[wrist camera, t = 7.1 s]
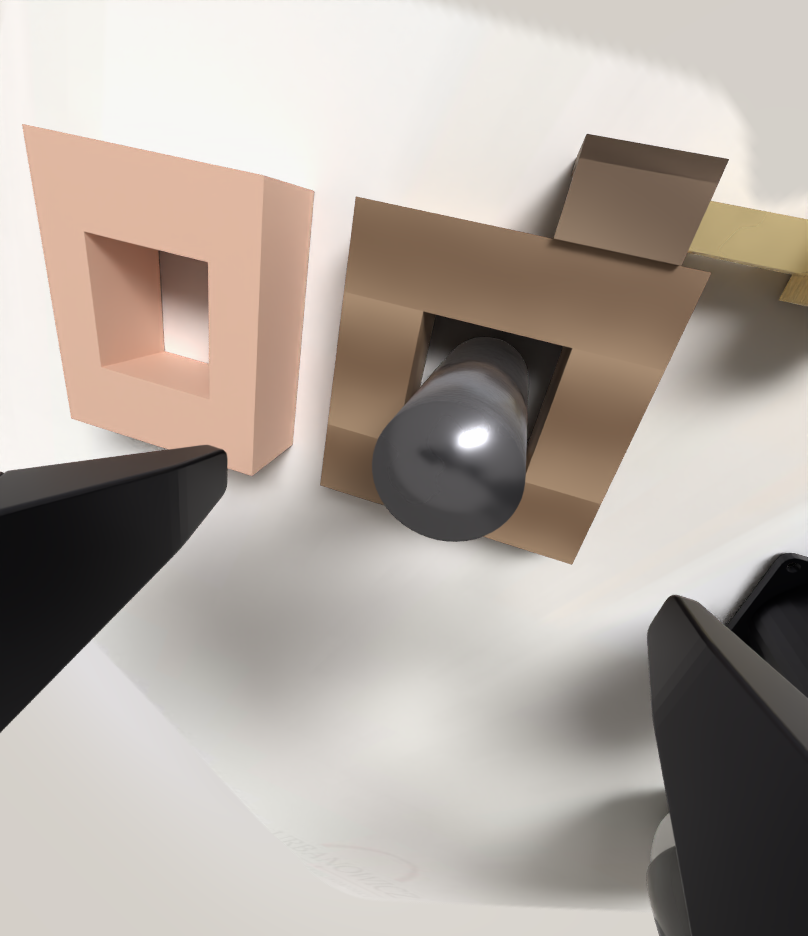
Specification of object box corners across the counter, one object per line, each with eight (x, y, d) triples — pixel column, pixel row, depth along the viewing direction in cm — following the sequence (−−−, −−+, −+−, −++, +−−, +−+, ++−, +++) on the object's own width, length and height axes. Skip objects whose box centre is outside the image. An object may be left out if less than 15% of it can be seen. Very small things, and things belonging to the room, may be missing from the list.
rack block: (292, 444, 24) (251, 475, 21) (134, 396, 26) (71, 418, 22) (314, 190, 19) (264, 175, 15) (110, 147, 20) (22, 124, 17)
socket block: (567, 528, 22) (572, 568, 19) (343, 460, 24) (317, 487, 21) (722, 183, 15) (766, 165, 12) (393, 121, 17) (364, 94, 14)
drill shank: (513, 433, 21) (498, 559, 12) (431, 410, 21) (362, 515, 13) (541, 349, 19) (548, 426, 10) (451, 327, 20) (385, 382, 11)
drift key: (868, 319, 16) (974, 339, 12) (557, 252, 17) (564, 250, 13) (931, 224, 14) (1074, 212, 11) (587, 160, 16) (604, 130, 12)
